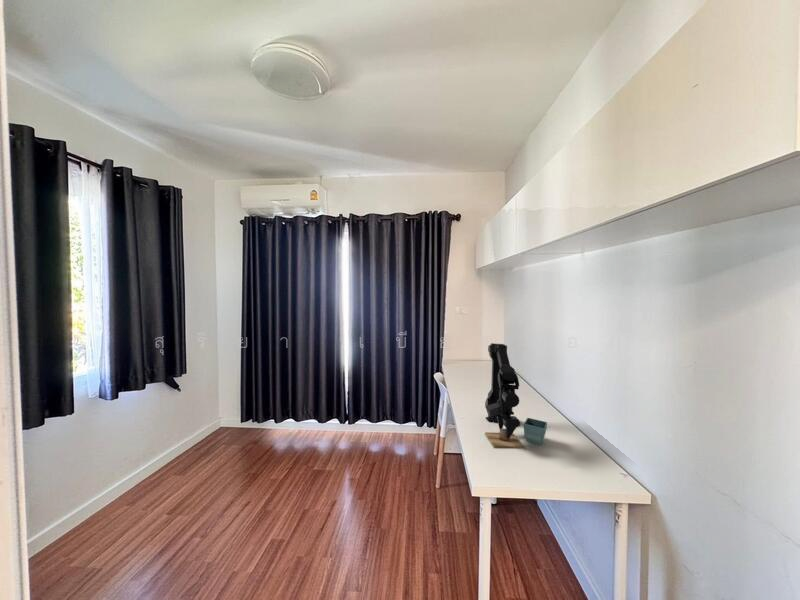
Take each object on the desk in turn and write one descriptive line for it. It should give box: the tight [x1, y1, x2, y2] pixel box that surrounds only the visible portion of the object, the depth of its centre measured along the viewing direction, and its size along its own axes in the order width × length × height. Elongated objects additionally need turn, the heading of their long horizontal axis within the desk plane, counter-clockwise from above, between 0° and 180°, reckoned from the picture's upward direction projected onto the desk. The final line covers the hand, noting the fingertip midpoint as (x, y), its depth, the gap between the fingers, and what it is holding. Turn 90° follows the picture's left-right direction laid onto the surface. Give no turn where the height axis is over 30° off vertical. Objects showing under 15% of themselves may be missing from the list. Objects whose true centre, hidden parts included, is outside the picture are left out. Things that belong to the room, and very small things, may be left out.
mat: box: [483, 433, 526, 450], centre depth 152 cm, size 14×14×1 cm
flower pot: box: [523, 417, 548, 446], centre depth 152 cm, size 9×9×9 cm
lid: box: [484, 428, 525, 448], centre depth 151 cm, size 13×13×5 cm
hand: (504, 433), depth 151 cm, fingers open, 9 cm apart
